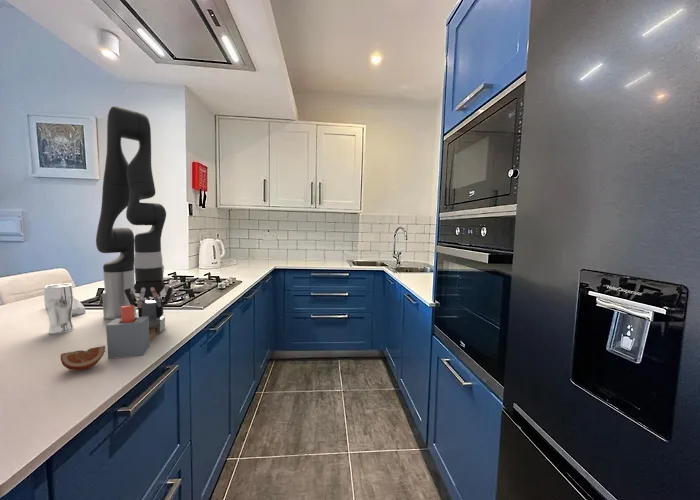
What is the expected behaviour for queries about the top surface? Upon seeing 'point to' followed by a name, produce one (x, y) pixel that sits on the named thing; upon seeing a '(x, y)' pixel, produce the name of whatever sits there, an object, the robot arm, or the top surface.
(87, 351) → the fruit slice
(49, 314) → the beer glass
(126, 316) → the button
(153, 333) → the rail
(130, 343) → the cabinet
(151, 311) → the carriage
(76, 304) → the crystal
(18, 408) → the top surface
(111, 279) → the robot arm
